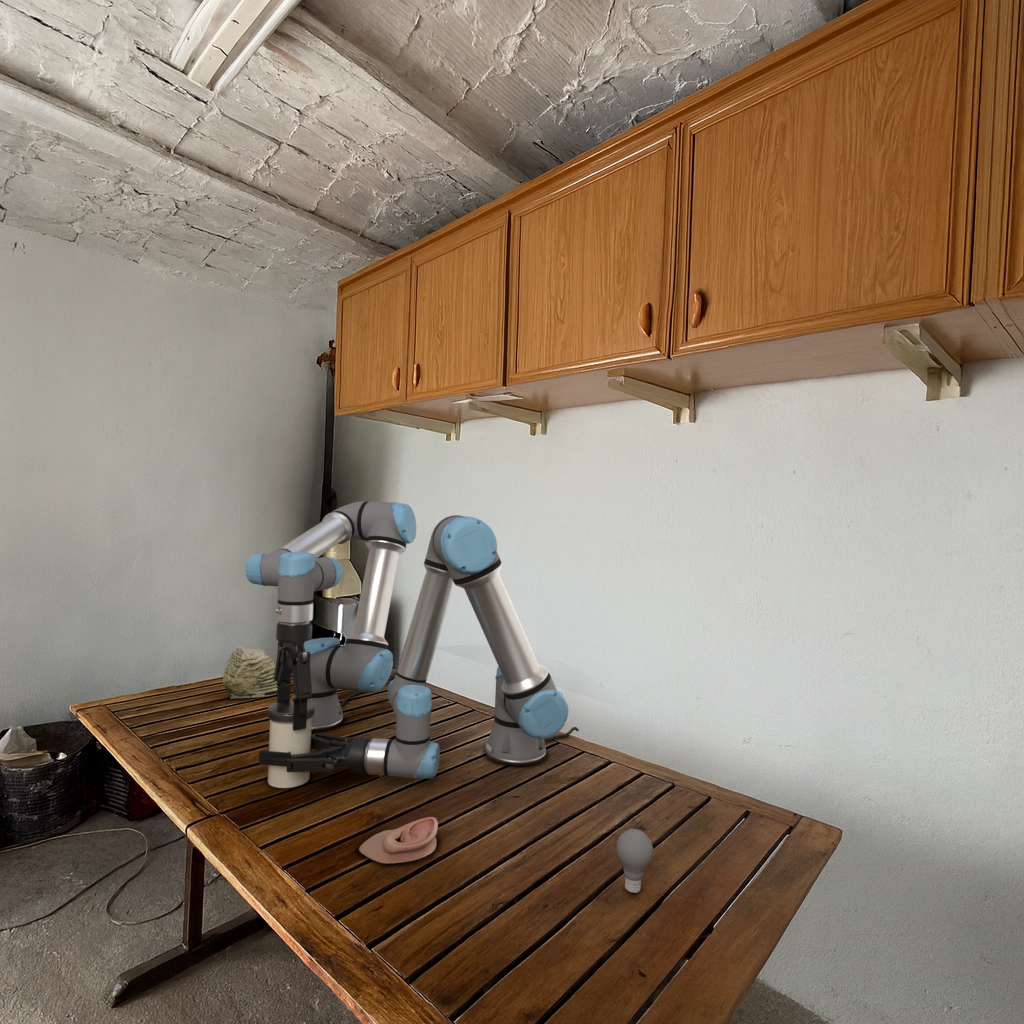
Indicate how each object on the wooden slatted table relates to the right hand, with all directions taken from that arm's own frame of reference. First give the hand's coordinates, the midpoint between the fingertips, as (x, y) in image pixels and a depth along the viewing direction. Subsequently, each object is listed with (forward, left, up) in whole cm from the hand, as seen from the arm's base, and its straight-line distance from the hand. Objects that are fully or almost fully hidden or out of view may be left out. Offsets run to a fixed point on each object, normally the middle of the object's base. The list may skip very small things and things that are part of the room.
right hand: (270, 748), depth 142 cm
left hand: (-4, +2, +6) cm, 8 cm away
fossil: (+4, -62, -6) cm, 63 cm away
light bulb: (-57, +60, -6) cm, 83 cm away
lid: (-4, +2, +10) cm, 11 cm away
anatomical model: (-22, +36, -6) cm, 43 cm away
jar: (-4, +2, -6) cm, 8 cm away
